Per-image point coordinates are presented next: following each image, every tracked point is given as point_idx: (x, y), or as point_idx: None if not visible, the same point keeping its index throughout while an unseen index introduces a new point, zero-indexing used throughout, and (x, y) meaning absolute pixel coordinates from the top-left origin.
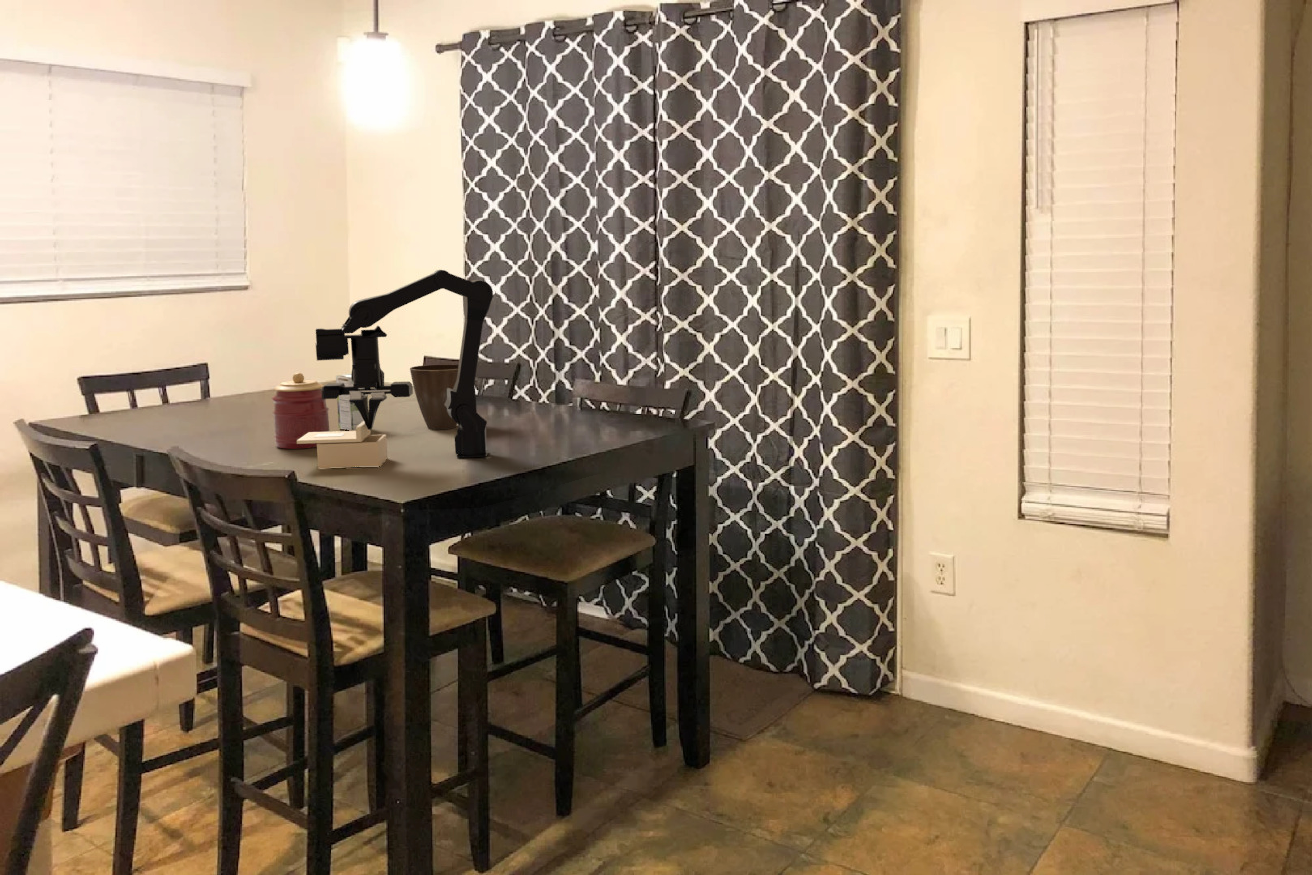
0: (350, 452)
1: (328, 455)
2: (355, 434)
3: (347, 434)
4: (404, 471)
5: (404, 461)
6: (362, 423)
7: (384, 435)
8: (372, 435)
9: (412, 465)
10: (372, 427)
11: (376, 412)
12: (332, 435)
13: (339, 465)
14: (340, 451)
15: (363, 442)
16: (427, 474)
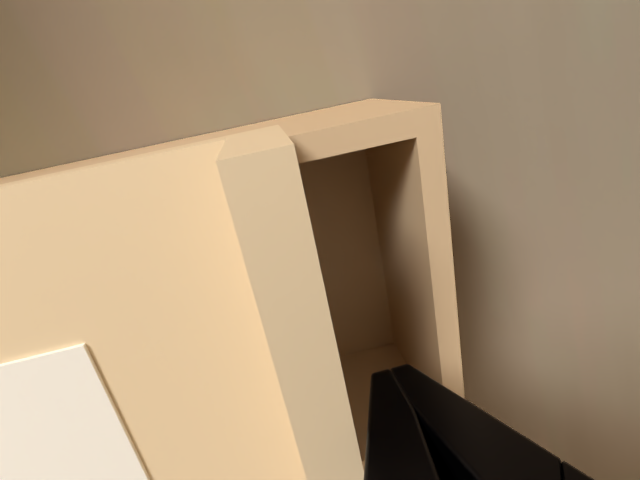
0: None
1: None
2: (229, 377)
3: (143, 387)
4: (538, 396)
5: (495, 180)
6: (333, 469)
7: (438, 161)
8: (312, 158)
9: (554, 277)
10: (414, 369)
11: (584, 476)
12: (27, 473)
13: None
14: None
15: (364, 463)
16: (633, 427)
